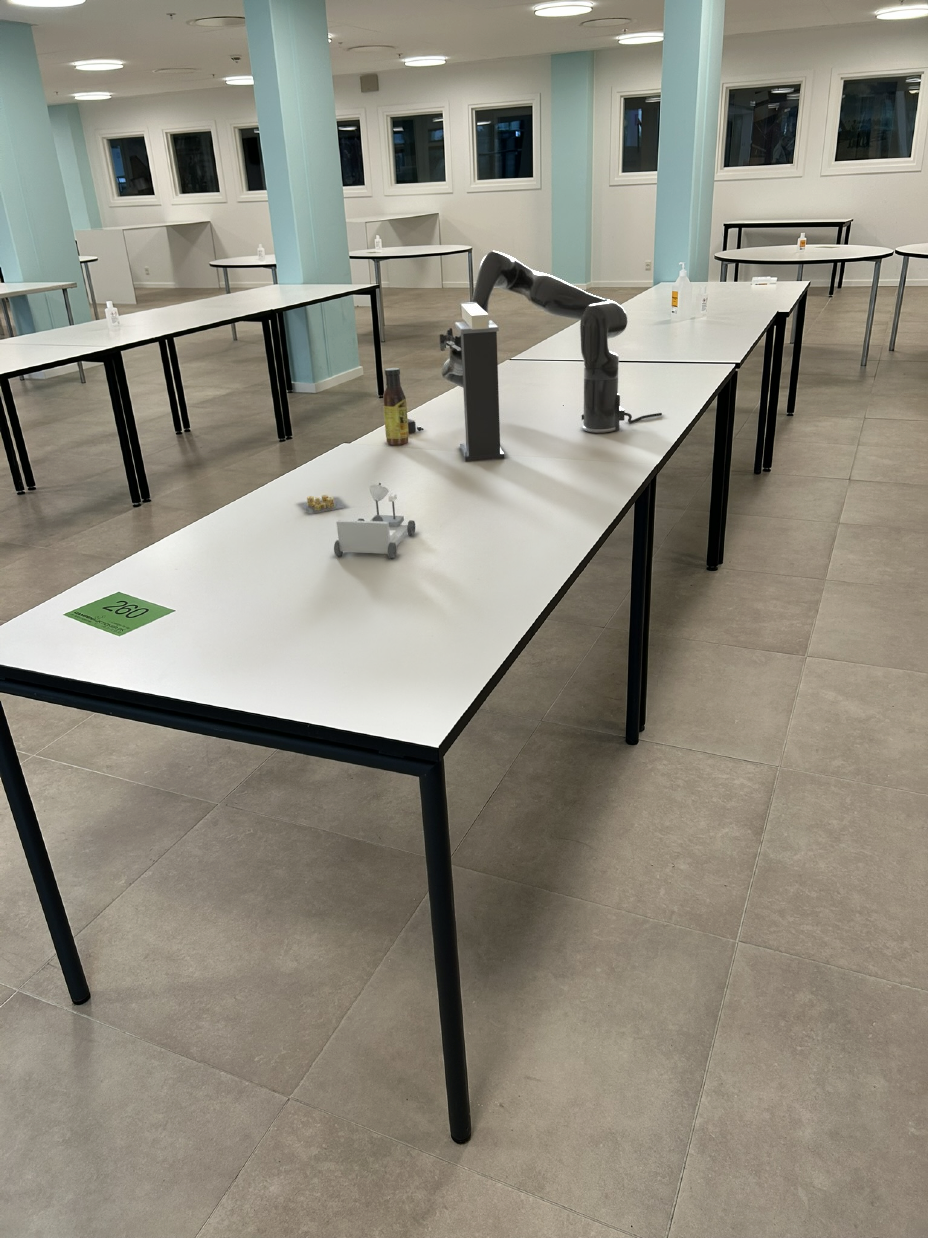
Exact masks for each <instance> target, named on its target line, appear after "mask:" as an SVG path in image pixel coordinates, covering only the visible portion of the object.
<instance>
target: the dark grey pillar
mask: <svg viewBox="0 0 928 1238" xmlns="http://www.w3.org/2000/svg"><path fill="white" fill-rule="evenodd" d="M455 328H456V329H457V330H458V331H459V333H460V335H461V349H462V369H463V389H462V390H463V407H464V408H463V409H464V427H465V428H464V431H465V443H459V449H460V451H461V455H462V456H463V459H464V461H465V462H475V461H476V462H478V461H489V460H503V459H505V458H506V457H505V453H504V451H503V449H502V447H501V426H500V423H501V421H500V392H499V371H498V370H499V364H498V363H499V361H498V360H499V359H498V336H497V335H498V333H497V332H499V331H500V329H499V326H498V325H497V324H496V323H495V322H494V321H493V320H492V319H489V329H474V330H472V329H471V327H470V326H469V325H468V324H467V323H466V322H465V321H455Z"/></svg>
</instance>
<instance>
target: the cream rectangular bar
mask: <svg viewBox="0 0 928 1238" xmlns="http://www.w3.org/2000/svg"><path fill="white" fill-rule="evenodd" d="M459 305H460V306H459V307H460V317H461V319H463V320H464V322H466V323H467V324H468V325H469V326H470V327H471V329H472V330H474V329H489V320H490V319H489V313H488V314H487V313H486V312H485V311H484V310H483V309H482V308H481V307H480V306H479V305H478V304H477V302H472V301H471V302H460V303H459Z"/></svg>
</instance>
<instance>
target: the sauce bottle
mask: <svg viewBox="0 0 928 1238" xmlns="http://www.w3.org/2000/svg"><path fill="white" fill-rule="evenodd" d="M384 375H385V385H386V387H385V390H384V391H383V394H382V400H383V401H382V402H383V419H384V428H385V429H384V431H385V438H386V444H388V445H390V446H400V445H405V444H407V443H409V436H410V435H409V434H410V433H408V419H409V418H408V407H407V405H408V404H407V397H406V395H405V392H404V390H403V388H402V385H401V376H400V375H401V368H399V367H388V368H385V369H384Z"/></svg>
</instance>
